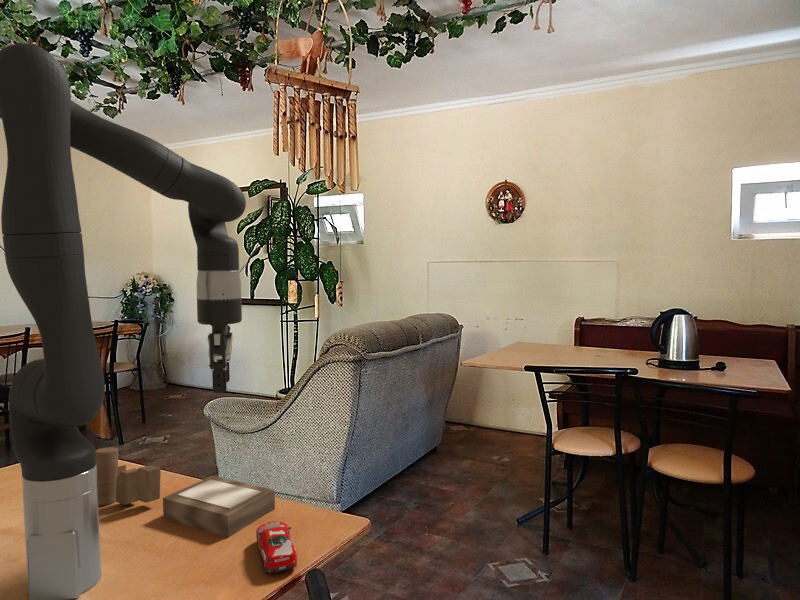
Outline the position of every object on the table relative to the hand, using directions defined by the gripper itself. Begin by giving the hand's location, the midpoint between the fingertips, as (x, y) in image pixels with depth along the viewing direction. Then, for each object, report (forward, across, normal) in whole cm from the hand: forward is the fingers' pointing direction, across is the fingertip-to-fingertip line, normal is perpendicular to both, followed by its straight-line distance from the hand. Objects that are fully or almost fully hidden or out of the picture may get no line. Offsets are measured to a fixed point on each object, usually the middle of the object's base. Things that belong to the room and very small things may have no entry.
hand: (221, 386), depth 99 cm
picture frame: (+25, +3, +1) cm, 25 cm away
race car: (+26, -12, -7) cm, 30 cm away
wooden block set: (+25, +14, +21) cm, 35 cm away
